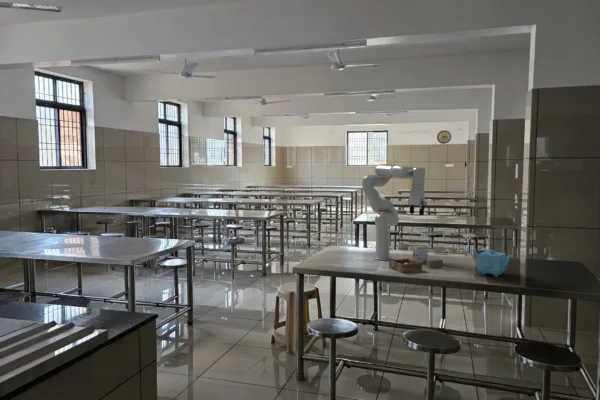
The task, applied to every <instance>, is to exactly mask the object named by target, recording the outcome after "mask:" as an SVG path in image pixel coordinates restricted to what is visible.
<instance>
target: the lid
mask: <svg viewBox="0 0 600 400" xmlns="http://www.w3.org/2000/svg"><path fill="white" fill-rule="evenodd" d="M443 261H444V260H443V259H440V258H439V259H438V258H437V259H428V260H427V264H425V265H426V267H425V268H427V269H435V268H437V269H440V270H444V271H447V272H450V271H451V272H452V271H453V268H452V269H451V268H449V267H445V266H443Z"/></svg>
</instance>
